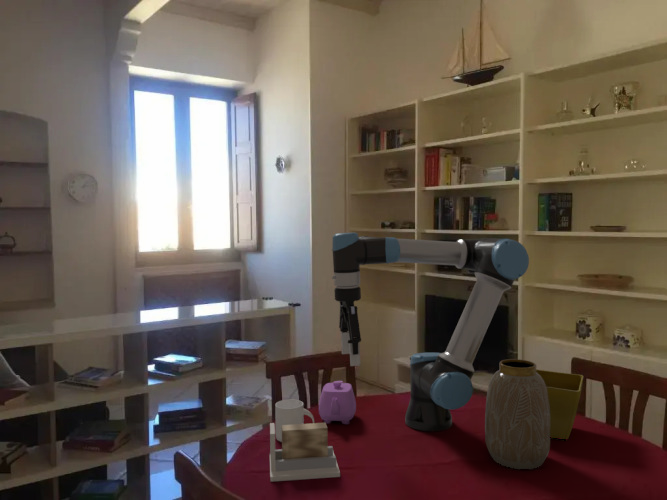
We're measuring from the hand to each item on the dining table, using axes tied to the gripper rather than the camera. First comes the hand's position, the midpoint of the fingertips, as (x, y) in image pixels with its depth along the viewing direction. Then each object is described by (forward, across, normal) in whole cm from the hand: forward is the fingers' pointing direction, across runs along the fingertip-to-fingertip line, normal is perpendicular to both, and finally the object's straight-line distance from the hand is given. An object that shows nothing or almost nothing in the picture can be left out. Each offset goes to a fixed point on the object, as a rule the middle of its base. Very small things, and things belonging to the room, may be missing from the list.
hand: (350, 359), depth 160 cm
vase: (+28, +16, +43) cm, 53 cm away
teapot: (+27, -24, -1) cm, 36 cm away
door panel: (+24, +10, -16) cm, 31 cm away
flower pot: (+29, -2, +62) cm, 69 cm away
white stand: (+26, +10, -16) cm, 32 cm away
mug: (+26, -10, -16) cm, 32 cm away
